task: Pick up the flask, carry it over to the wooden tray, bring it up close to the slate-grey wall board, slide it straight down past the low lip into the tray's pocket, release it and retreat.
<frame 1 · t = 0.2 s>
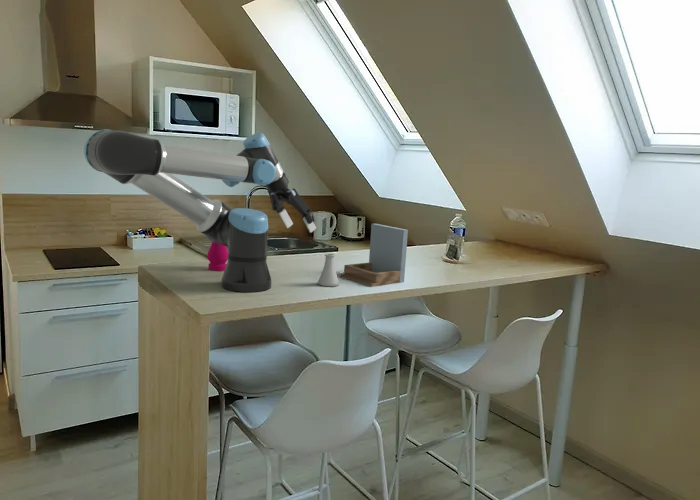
hand: (301, 228, 205), 15 cm above the table, tool tilted 35°, fingers open, 13 cm apart
flask: (328, 285, 189), on the table
pepper mill: (217, 269, 201), on the table
wall board: (385, 277, 204), on the table
wooden tray: (373, 279, 200), on the table
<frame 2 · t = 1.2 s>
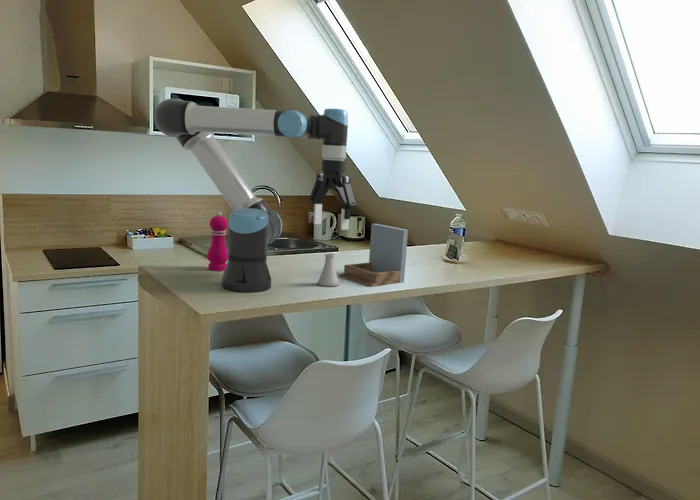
hand: (330, 226, 186), 19 cm above the table, tool pointing down, fingers open, 13 cm apart
nothing on the table moved.
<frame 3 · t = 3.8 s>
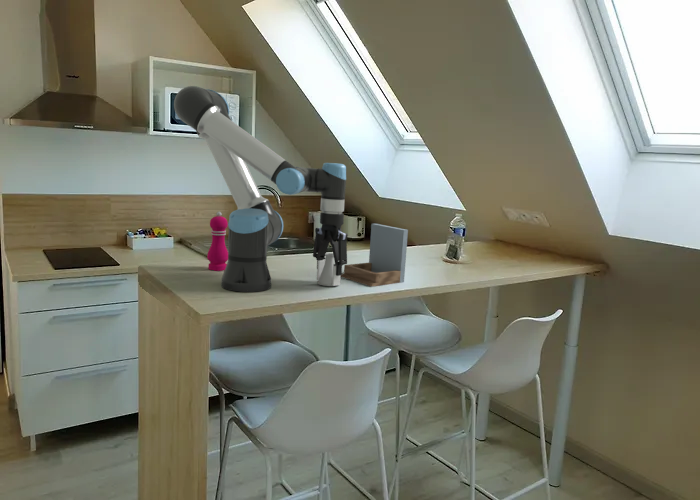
hand: (328, 282, 188), 1 cm above the table, tool pointing down, fingers closed on flask, 7 cm apart
flask: (328, 284, 189), on the table, touching gripper
everything else where it was.
when the fingers open (4 cm above the table, at t = 10.2 s): flask drops 2 cm, resting on wooden tray.
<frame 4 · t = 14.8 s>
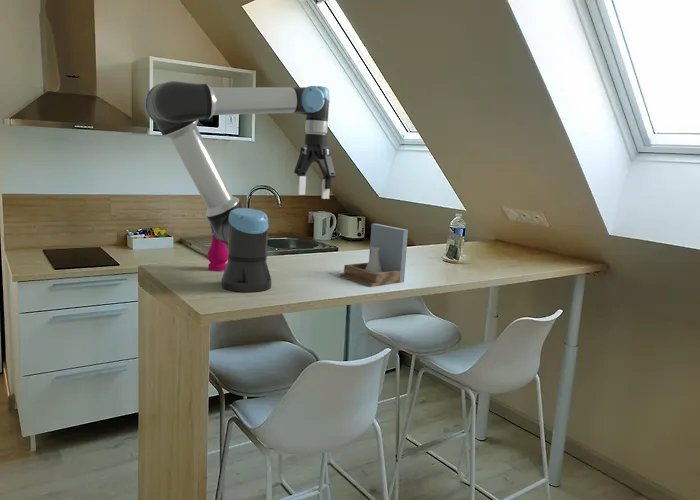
hand: (313, 196, 200), 27 cm above the table, tool pointing down, fingers open, 13 cm apart
flask: (373, 276, 200), point 1 cm above the table, touching wooden tray
everything else where it was.
at the end: flask inside the target area on the wooden tray (0.1 cm from its centre), point 0.8 cm above the wooden tray's base; flask tilted 0°; the gripper is holding nothing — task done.
